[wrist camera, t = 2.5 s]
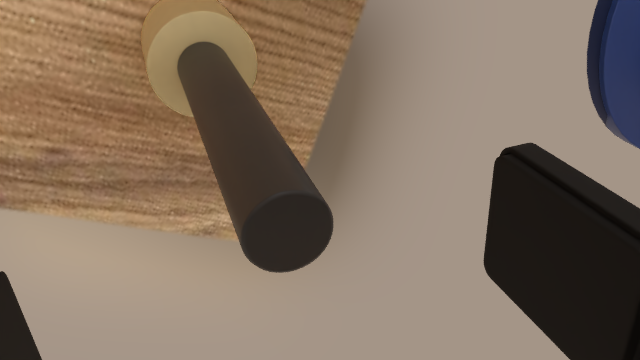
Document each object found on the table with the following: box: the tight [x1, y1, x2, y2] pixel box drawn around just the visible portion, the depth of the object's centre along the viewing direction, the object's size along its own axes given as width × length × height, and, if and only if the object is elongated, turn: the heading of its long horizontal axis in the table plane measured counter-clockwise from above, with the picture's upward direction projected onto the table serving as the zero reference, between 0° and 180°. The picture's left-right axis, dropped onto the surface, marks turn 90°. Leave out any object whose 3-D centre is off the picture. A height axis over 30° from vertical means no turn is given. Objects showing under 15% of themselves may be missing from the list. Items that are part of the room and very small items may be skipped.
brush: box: [141, 0, 333, 272], centre depth 18 cm, size 4×4×16 cm
